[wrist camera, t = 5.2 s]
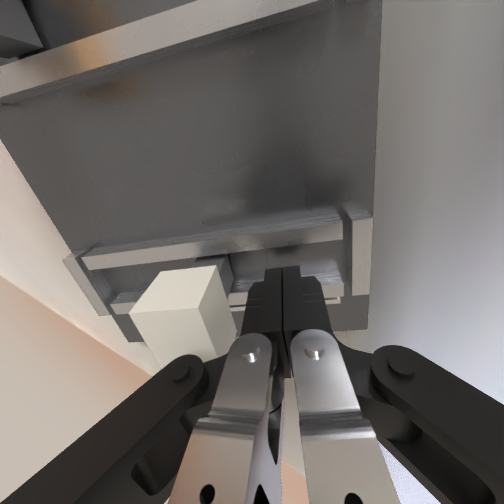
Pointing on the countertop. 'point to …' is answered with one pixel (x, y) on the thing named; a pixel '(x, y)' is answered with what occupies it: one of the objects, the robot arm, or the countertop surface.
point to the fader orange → (16, 30)
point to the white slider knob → (188, 311)
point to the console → (202, 142)
